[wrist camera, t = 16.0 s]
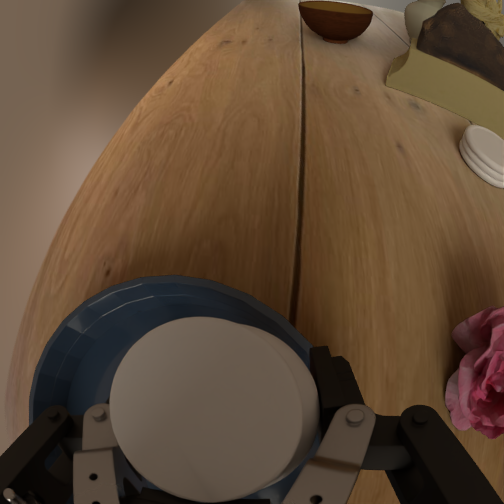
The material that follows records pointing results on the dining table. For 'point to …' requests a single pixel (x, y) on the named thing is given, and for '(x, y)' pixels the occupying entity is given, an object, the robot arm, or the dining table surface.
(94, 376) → the dark blue round tray
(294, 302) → the dining table surface
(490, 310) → the flower
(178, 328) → the pill bottle
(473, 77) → the seated figure statue
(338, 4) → the bowl
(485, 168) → the coaster
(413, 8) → the lamp
